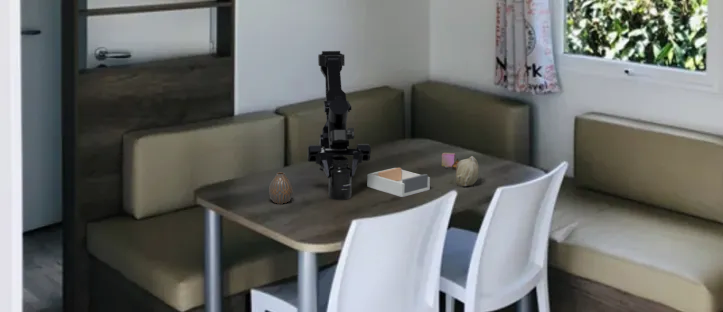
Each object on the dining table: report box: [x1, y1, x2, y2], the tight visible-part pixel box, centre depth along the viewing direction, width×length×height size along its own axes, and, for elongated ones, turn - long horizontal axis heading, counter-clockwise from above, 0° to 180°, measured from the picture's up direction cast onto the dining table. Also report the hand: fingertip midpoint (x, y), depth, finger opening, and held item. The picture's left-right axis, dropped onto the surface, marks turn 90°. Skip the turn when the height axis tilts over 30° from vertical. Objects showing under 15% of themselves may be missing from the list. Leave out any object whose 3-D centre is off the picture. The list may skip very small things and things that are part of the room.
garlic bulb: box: [455, 155, 480, 187], centre depth 303 cm, size 9×8×10 cm
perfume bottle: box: [441, 152, 460, 171], centre depth 326 cm, size 12×12×4 cm
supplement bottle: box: [328, 156, 353, 201], centre depth 288 cm, size 7×7×12 cm
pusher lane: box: [366, 167, 431, 198], centre depth 299 cm, size 15×12×5 cm
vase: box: [268, 172, 294, 205], centre depth 283 cm, size 7×7×9 cm
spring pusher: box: [377, 167, 402, 181], centre depth 302 cm, size 3×9×4 cm, turn 133°
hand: (340, 177), depth 287 cm, fingers closed on supplement bottle, 7 cm apart
